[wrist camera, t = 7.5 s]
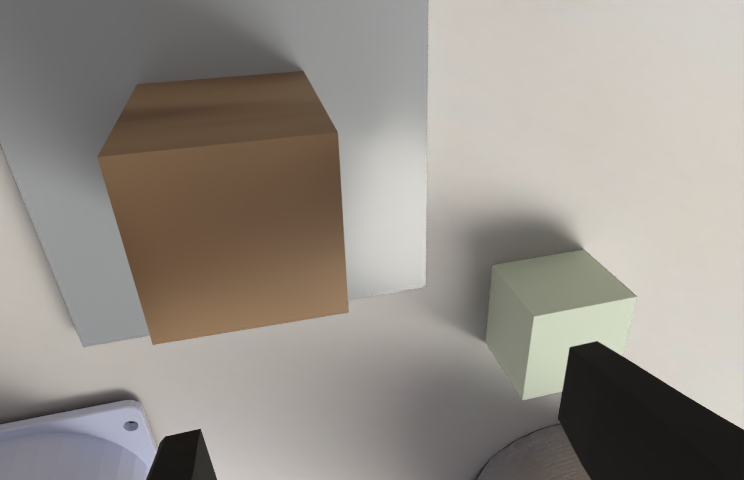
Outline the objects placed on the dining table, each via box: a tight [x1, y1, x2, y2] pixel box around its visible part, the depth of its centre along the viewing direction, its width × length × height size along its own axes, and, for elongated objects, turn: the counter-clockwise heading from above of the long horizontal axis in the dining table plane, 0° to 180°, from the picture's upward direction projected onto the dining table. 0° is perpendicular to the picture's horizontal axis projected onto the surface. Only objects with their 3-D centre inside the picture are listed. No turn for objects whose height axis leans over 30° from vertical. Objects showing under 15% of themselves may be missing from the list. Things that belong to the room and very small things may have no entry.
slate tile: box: [0, 0, 428, 347], centre depth 16 cm, size 12×12×1 cm
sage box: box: [486, 249, 637, 400], centre depth 21 cm, size 4×4×4 cm
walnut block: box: [97, 71, 349, 345], centre depth 14 cm, size 4×4×6 cm
